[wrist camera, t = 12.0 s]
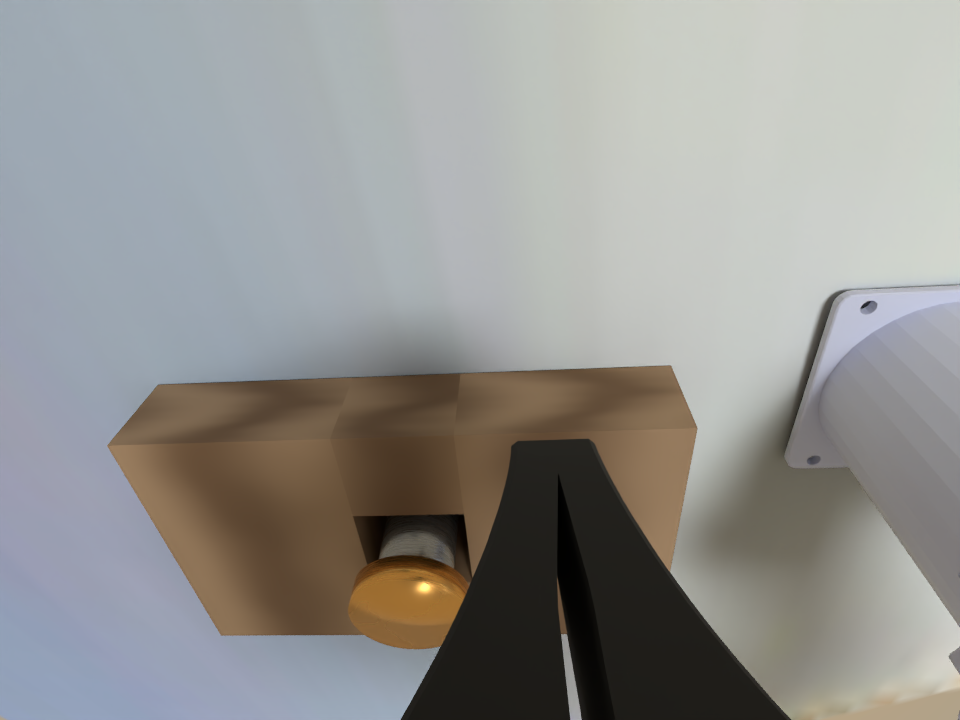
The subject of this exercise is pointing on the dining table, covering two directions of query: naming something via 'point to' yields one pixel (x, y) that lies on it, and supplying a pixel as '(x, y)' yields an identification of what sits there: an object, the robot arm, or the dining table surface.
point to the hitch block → (376, 474)
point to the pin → (410, 584)
